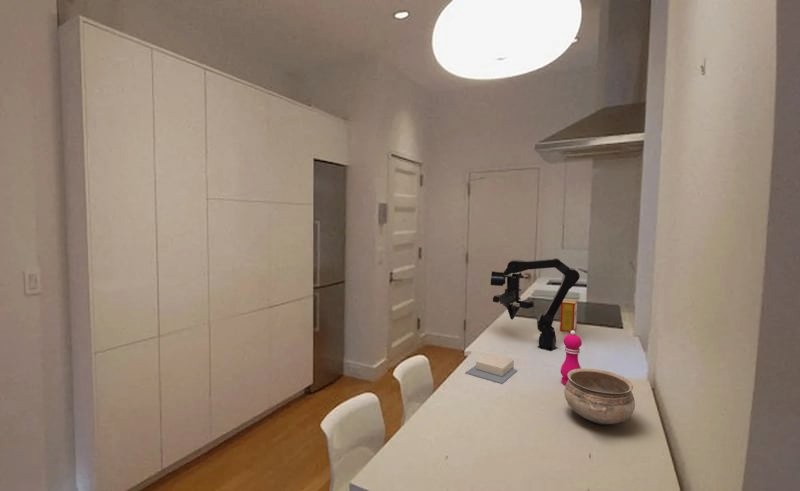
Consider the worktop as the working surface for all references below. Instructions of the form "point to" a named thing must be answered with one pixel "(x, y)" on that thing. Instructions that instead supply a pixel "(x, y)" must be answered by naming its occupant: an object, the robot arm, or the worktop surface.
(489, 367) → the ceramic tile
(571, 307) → the baking soda box
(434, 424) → the worktop surface
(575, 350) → the pepper mill
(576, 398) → the cooking pot
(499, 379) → the slate mat
